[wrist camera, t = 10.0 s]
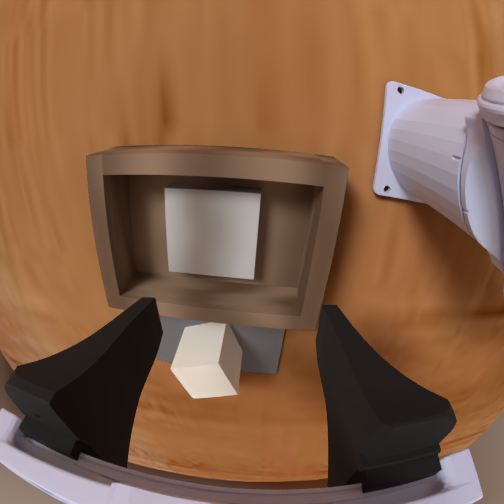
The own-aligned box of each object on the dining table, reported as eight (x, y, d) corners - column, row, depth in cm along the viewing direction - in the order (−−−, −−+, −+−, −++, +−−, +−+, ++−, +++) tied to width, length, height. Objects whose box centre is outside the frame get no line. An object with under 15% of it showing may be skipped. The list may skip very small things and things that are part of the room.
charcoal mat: (287, 310, 23) (288, 312, 23) (276, 372, 27) (275, 374, 27) (147, 295, 24) (145, 297, 23) (158, 357, 27) (157, 359, 27)
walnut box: (333, 157, 18) (349, 168, 14) (309, 297, 23) (314, 330, 19) (116, 146, 18) (86, 156, 14) (129, 278, 23) (108, 306, 19)
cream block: (227, 319, 24) (218, 363, 19) (242, 351, 25) (237, 394, 21) (185, 327, 24) (170, 369, 20) (203, 357, 26) (193, 398, 22)
